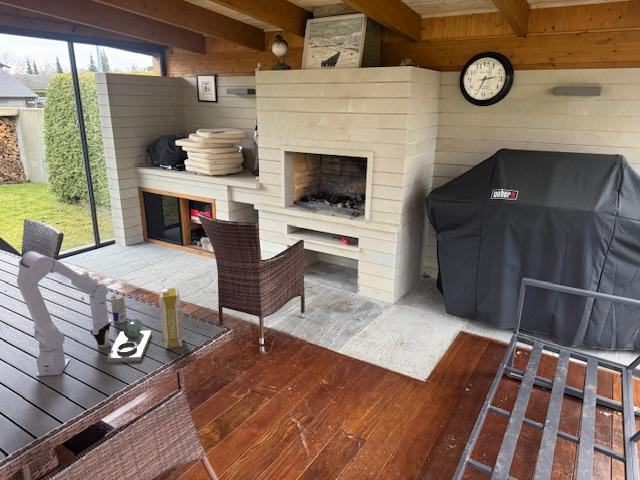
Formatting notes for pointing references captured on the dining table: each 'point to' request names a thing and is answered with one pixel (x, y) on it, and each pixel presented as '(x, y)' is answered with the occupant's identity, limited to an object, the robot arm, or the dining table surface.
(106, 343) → the cream capsule cylinder
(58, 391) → the dining table surface
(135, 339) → the motor mount
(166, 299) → the juice carton
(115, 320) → the energy drink
